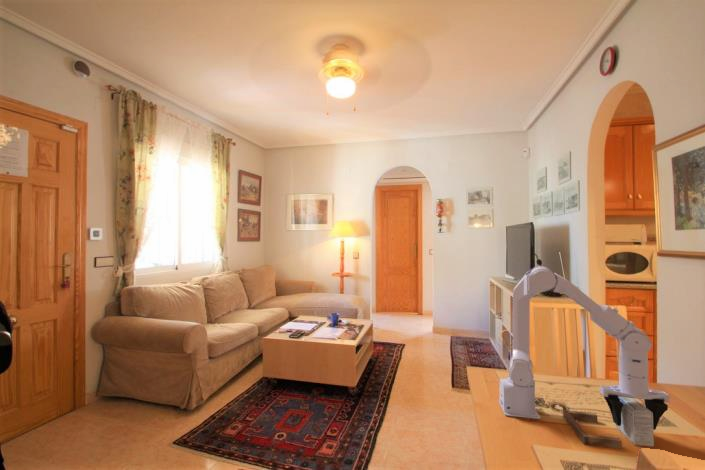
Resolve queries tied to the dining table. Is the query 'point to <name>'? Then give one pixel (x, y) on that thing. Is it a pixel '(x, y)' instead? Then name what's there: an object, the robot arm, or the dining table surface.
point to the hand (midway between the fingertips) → (633, 425)
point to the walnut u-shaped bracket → (587, 438)
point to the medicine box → (636, 422)
